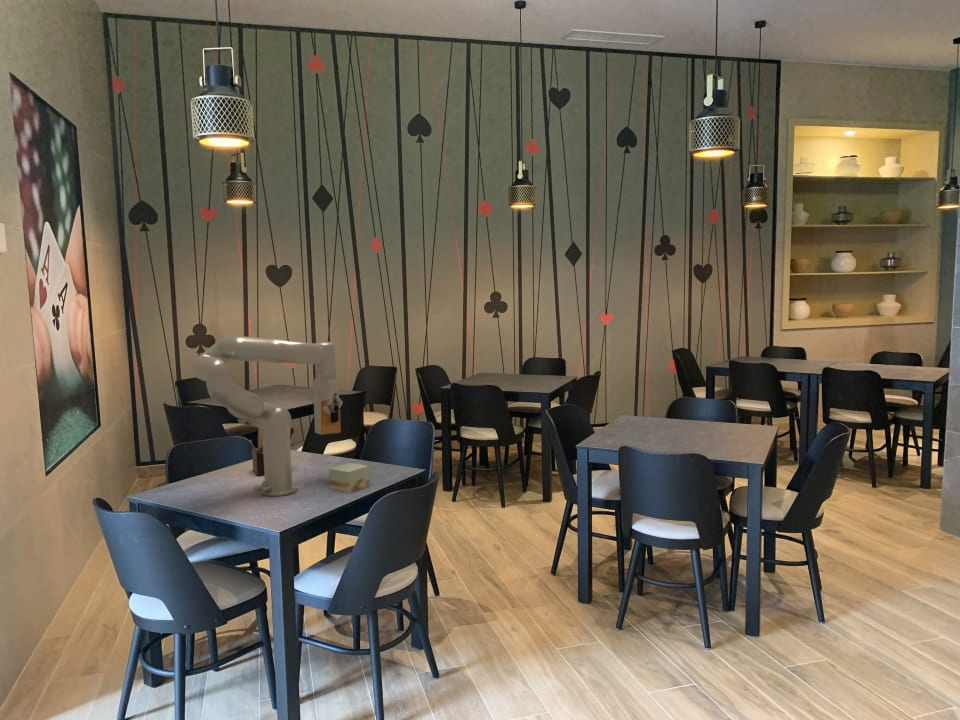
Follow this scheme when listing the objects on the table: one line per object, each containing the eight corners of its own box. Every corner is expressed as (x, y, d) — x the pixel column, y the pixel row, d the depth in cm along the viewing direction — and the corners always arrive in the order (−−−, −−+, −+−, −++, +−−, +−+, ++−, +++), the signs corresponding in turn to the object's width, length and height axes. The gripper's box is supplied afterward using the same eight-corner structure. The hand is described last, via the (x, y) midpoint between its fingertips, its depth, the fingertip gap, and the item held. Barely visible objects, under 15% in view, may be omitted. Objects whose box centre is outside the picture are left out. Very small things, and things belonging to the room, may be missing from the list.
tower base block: (349, 494, 263) (348, 483, 263) (329, 490, 269) (329, 479, 269) (368, 487, 271) (368, 476, 271) (349, 483, 277) (349, 473, 277)
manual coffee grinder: (258, 477, 288) (255, 431, 286) (252, 471, 298) (249, 427, 296) (297, 471, 295) (295, 427, 293) (290, 465, 305) (288, 423, 303)
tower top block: (349, 482, 263) (349, 472, 263) (329, 479, 269) (329, 468, 268) (369, 476, 271) (368, 465, 271) (349, 473, 277) (349, 462, 277)
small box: (321, 435, 274) (320, 400, 272) (314, 432, 279) (313, 398, 278) (341, 432, 278) (340, 398, 277) (334, 430, 284) (333, 396, 282)
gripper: (302, 374, 279) (304, 420, 280) (333, 377, 268) (335, 425, 270) (318, 372, 285) (319, 417, 286) (349, 375, 274) (350, 422, 276)
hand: (327, 421), depth 278 cm, fingers closed on small box, 7 cm apart
